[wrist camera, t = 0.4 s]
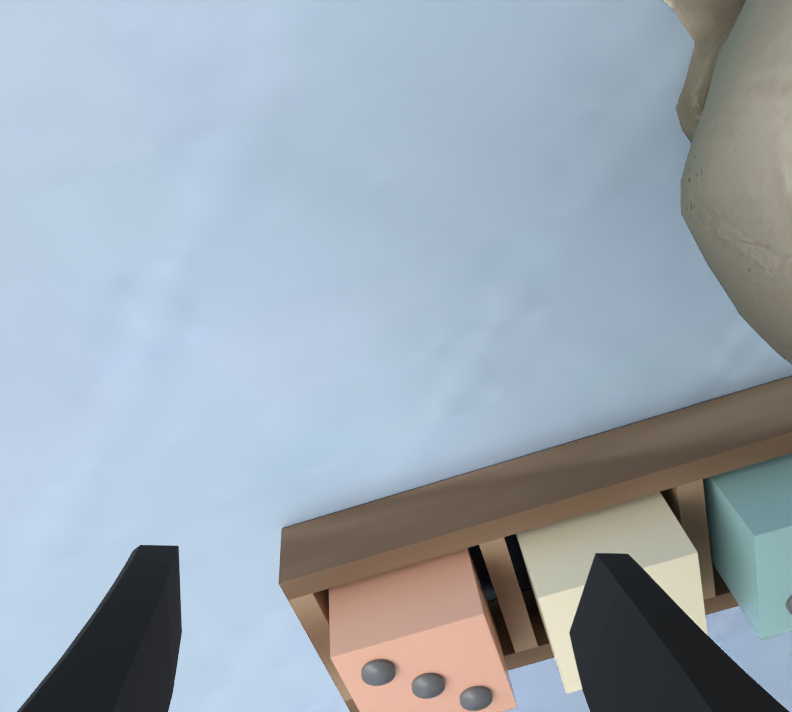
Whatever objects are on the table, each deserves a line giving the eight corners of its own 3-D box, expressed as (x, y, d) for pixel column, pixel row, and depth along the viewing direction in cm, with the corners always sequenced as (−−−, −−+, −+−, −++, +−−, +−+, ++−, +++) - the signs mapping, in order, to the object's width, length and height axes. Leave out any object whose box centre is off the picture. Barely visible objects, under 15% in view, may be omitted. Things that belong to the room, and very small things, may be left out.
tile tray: (852, 512, 27) (897, 561, 25) (348, 656, 28) (351, 714, 26) (857, 356, 23) (910, 397, 21) (281, 528, 25) (278, 583, 23)
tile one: (667, 576, 26) (712, 658, 23) (539, 612, 26) (567, 698, 23) (651, 479, 23) (700, 556, 20) (511, 520, 24) (539, 602, 21)
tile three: (495, 625, 26) (518, 711, 23) (371, 660, 26) (378, 750, 23) (464, 534, 24) (484, 617, 21) (328, 574, 24) (330, 662, 21)
